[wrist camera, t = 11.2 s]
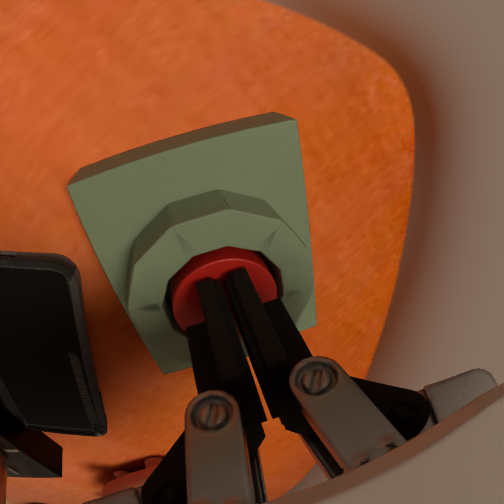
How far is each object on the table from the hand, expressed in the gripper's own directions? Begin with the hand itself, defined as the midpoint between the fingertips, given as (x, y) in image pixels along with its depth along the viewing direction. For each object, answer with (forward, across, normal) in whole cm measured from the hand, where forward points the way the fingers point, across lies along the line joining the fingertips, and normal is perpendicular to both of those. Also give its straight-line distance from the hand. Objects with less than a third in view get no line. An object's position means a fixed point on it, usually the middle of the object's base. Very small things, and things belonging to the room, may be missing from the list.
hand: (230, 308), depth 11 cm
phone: (+5, +12, +4) cm, 14 cm away
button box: (+4, 0, 0) cm, 4 cm away
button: (+2, 0, 0) cm, 2 cm away
